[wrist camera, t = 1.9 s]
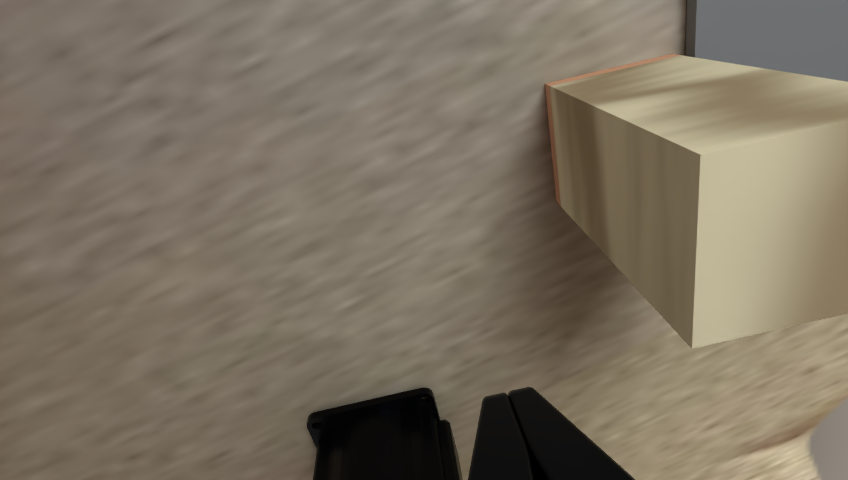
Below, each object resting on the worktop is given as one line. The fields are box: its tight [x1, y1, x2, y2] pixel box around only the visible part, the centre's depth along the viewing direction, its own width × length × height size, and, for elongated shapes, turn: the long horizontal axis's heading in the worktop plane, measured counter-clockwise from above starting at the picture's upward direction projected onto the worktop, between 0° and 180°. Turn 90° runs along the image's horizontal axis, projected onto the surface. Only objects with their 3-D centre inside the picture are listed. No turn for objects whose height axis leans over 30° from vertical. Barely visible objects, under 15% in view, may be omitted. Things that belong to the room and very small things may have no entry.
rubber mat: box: [686, 0, 848, 82], centre depth 19 cm, size 11×14×1 cm
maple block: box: [545, 54, 848, 349], centre depth 15 cm, size 5×5×10 cm
